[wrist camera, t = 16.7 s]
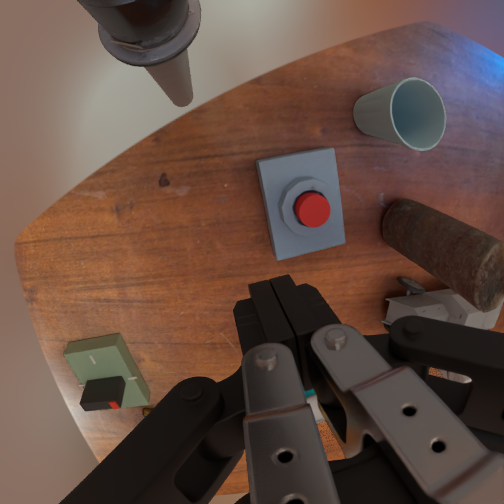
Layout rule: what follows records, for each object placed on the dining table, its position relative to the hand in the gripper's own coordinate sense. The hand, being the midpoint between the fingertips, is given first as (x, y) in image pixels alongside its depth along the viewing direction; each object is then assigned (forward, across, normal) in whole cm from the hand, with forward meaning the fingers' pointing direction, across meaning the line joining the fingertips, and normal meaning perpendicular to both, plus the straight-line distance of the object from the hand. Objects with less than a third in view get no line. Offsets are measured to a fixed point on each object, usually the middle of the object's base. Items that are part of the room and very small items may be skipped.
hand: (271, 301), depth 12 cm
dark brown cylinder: (+27, -23, +10) cm, 37 cm away
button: (+23, -9, +4) cm, 25 cm away
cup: (+27, -20, -5) cm, 34 cm away
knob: (+24, +23, +22) cm, 40 cm away
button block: (+27, -9, +4) cm, 29 cm away
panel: (+27, +23, +22) cm, 42 cm away
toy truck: (+27, -31, +25) cm, 48 cm away
